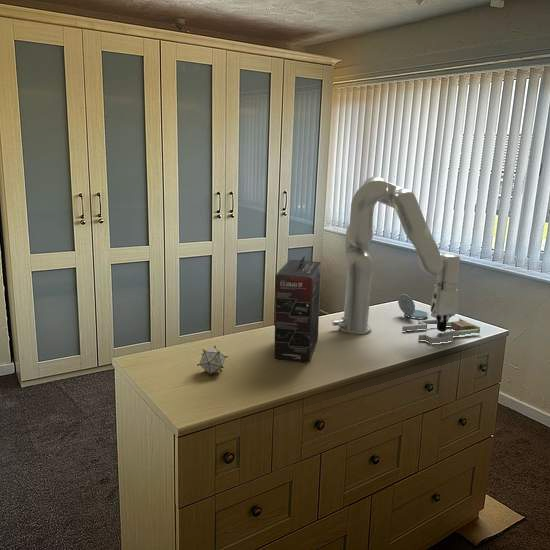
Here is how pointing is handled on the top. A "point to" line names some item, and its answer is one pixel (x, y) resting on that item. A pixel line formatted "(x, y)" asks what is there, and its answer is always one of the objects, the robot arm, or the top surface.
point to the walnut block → (461, 326)
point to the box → (446, 335)
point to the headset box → (297, 310)
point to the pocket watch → (410, 307)
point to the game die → (212, 360)
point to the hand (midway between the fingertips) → (441, 330)
